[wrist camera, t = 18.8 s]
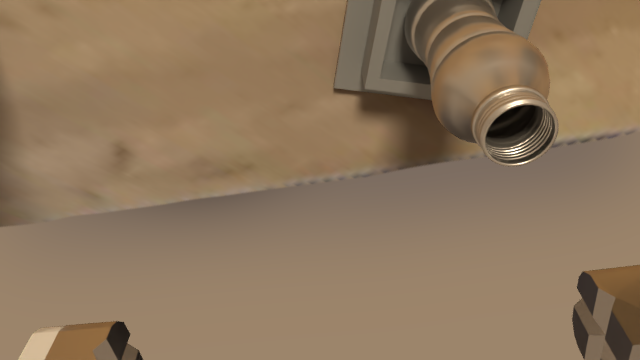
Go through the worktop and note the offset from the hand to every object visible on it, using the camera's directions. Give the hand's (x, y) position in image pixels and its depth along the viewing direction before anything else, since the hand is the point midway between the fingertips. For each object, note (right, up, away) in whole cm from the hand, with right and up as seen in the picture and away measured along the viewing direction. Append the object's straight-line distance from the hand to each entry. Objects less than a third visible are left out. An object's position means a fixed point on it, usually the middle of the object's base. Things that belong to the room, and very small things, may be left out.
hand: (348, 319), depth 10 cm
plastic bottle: (+9, +16, +33) cm, 38 cm away
